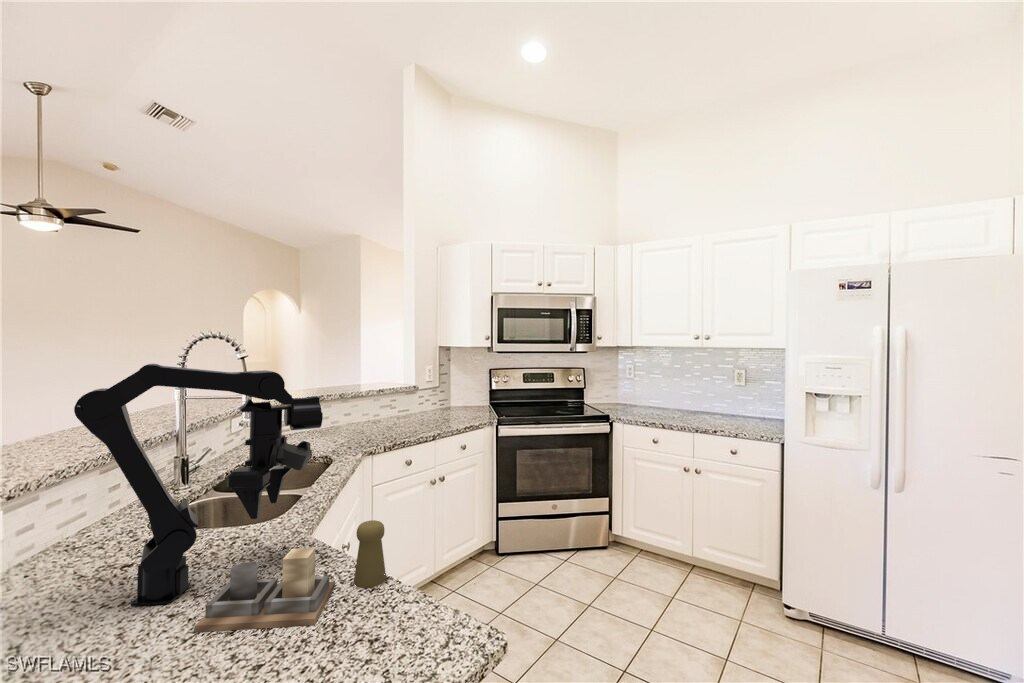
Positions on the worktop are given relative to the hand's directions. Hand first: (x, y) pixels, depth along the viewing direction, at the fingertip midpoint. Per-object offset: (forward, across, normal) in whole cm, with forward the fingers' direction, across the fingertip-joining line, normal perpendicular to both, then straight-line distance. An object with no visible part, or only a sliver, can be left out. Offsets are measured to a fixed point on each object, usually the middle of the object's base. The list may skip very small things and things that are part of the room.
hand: (264, 510), depth 91 cm
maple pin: (+11, -14, -12) cm, 21 cm away
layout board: (+12, -14, -7) cm, 20 cm away
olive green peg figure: (+12, -6, -22) cm, 26 cm away
